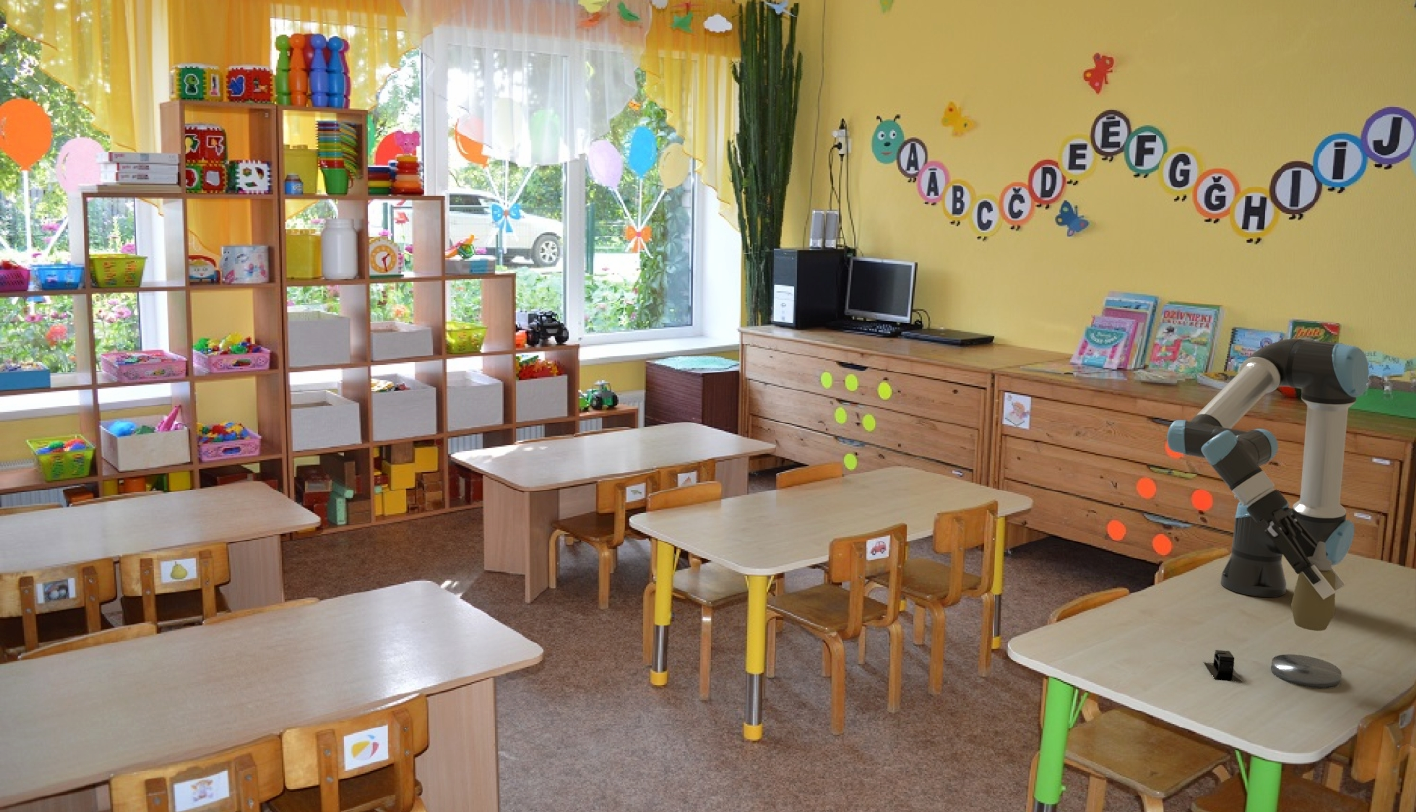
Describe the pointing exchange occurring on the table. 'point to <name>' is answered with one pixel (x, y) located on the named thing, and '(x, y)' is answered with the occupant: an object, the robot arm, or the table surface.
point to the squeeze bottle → (1314, 595)
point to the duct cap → (1306, 671)
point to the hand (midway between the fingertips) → (1334, 591)
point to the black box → (1223, 666)
